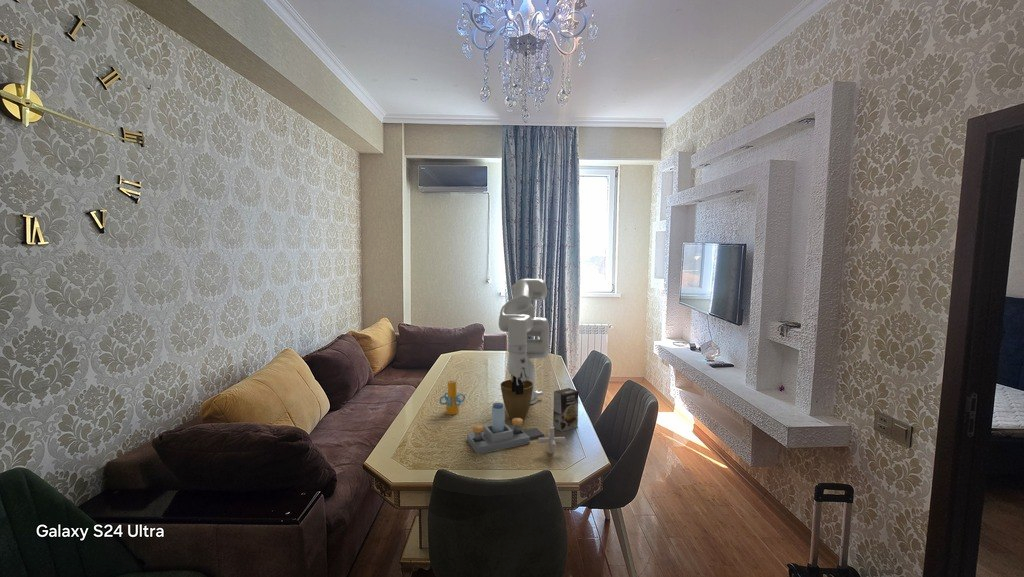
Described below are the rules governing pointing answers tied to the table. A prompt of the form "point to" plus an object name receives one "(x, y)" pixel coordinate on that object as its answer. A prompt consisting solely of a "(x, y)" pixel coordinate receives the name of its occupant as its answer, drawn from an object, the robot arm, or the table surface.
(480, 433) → the orange rounded knob
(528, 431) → the mat
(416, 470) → the table surface
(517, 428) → the light orange ball
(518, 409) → the plant pot
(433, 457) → the table surface
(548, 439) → the pipe connector
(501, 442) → the housing
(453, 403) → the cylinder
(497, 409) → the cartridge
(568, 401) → the coffee box
